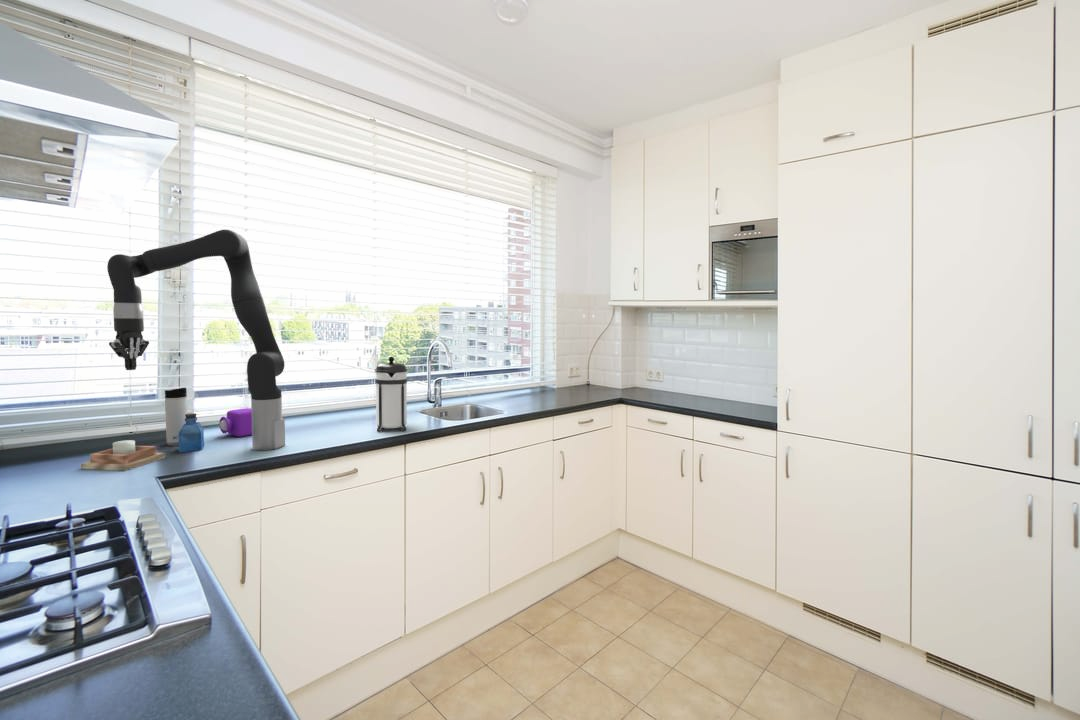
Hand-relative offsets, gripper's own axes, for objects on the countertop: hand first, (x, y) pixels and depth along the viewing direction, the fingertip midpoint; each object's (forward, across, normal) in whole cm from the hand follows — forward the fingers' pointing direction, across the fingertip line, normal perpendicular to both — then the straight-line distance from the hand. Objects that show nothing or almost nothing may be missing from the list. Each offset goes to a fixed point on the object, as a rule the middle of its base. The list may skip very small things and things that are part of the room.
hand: (131, 369), depth 164 cm
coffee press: (+27, +45, -70) cm, 88 cm away
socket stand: (+27, -14, -10) cm, 32 cm away
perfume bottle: (+27, +4, -17) cm, 32 cm away
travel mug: (+27, +10, -7) cm, 30 cm away
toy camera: (+27, +26, -19) cm, 42 cm away
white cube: (+26, -14, -10) cm, 31 cm away
